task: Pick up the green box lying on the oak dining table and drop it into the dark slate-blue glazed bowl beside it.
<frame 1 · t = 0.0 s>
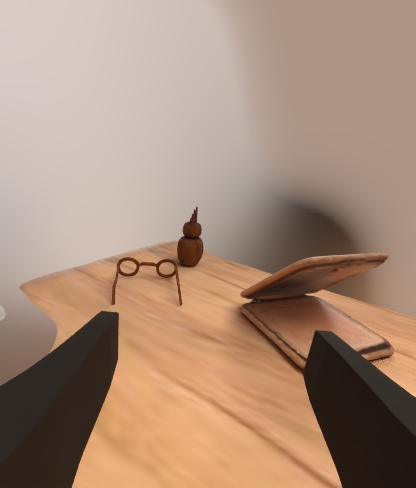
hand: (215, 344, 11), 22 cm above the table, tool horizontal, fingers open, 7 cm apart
wooden figurine: (188, 264, 81), on the table
glasses: (147, 291, 64), on the table
case: (309, 330, 56), on the table
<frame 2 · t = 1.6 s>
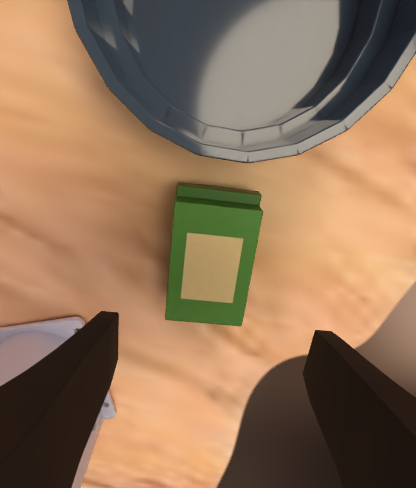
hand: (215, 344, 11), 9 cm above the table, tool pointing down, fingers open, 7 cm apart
green box: (209, 247, 20), on the table
bowl: (240, 7, 15), on the table
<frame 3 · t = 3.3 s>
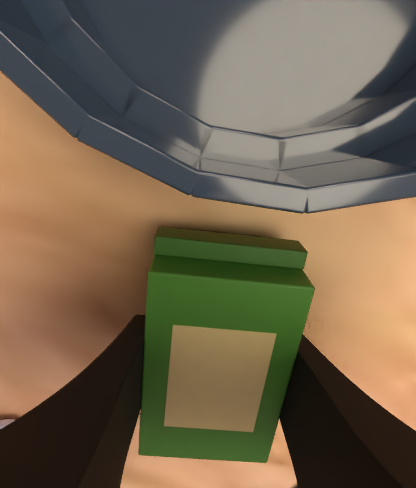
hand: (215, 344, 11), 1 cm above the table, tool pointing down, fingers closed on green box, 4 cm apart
green box: (212, 320, 13), on the table, touching gripper
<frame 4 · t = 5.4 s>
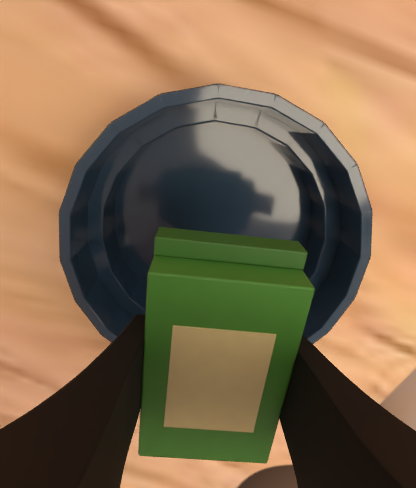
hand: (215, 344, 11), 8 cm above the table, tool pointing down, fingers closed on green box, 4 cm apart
green box: (212, 321, 13), point 7 cm above the table, touching gripper
bowl: (212, 224, 18), on the table
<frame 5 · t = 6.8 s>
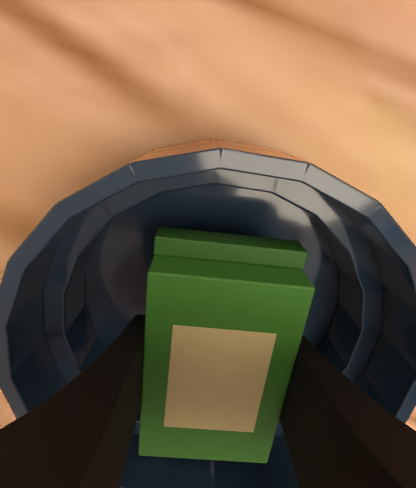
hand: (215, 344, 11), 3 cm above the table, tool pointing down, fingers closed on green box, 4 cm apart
green box: (212, 321, 13), point 2 cm above the table, touching gripper
bowl: (212, 295, 14), on the table
when the fingers open (2 cm above the table, at t = 7.7 s): green box stays where it is, resting on bowl.
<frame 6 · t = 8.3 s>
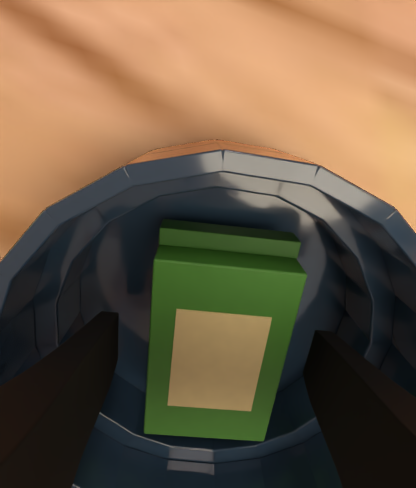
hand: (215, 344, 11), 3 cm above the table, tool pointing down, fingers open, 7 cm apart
green box: (213, 309, 13), point 1 cm above the table, touching bowl
bowl: (212, 302, 14), on the table
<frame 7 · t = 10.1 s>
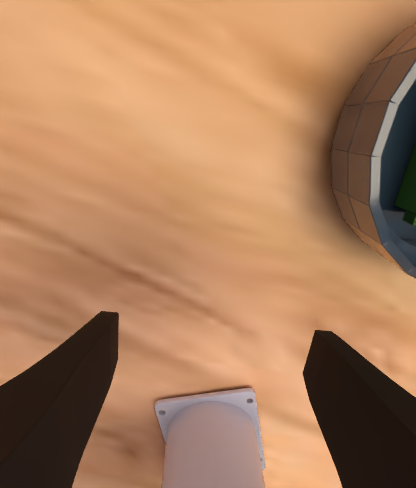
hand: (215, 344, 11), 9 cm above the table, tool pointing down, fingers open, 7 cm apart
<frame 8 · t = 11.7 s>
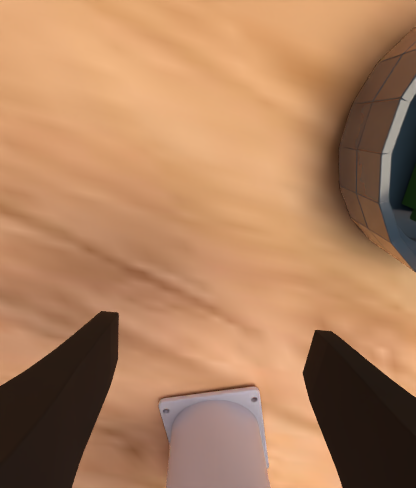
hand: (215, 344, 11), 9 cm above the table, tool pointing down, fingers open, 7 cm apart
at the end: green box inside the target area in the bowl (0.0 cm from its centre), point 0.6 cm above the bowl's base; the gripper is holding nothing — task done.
